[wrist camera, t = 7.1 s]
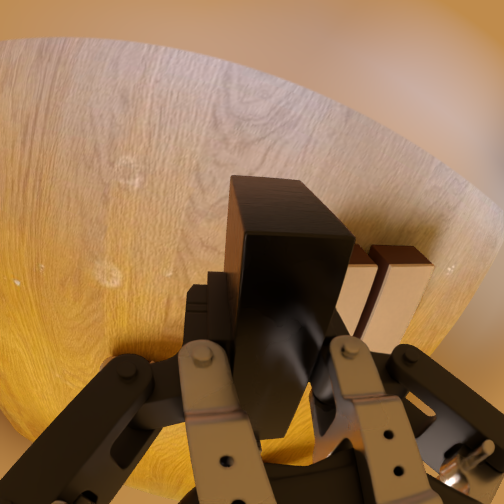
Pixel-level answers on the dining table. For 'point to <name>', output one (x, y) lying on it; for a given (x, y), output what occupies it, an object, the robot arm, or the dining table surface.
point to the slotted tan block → (382, 293)
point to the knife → (279, 293)
